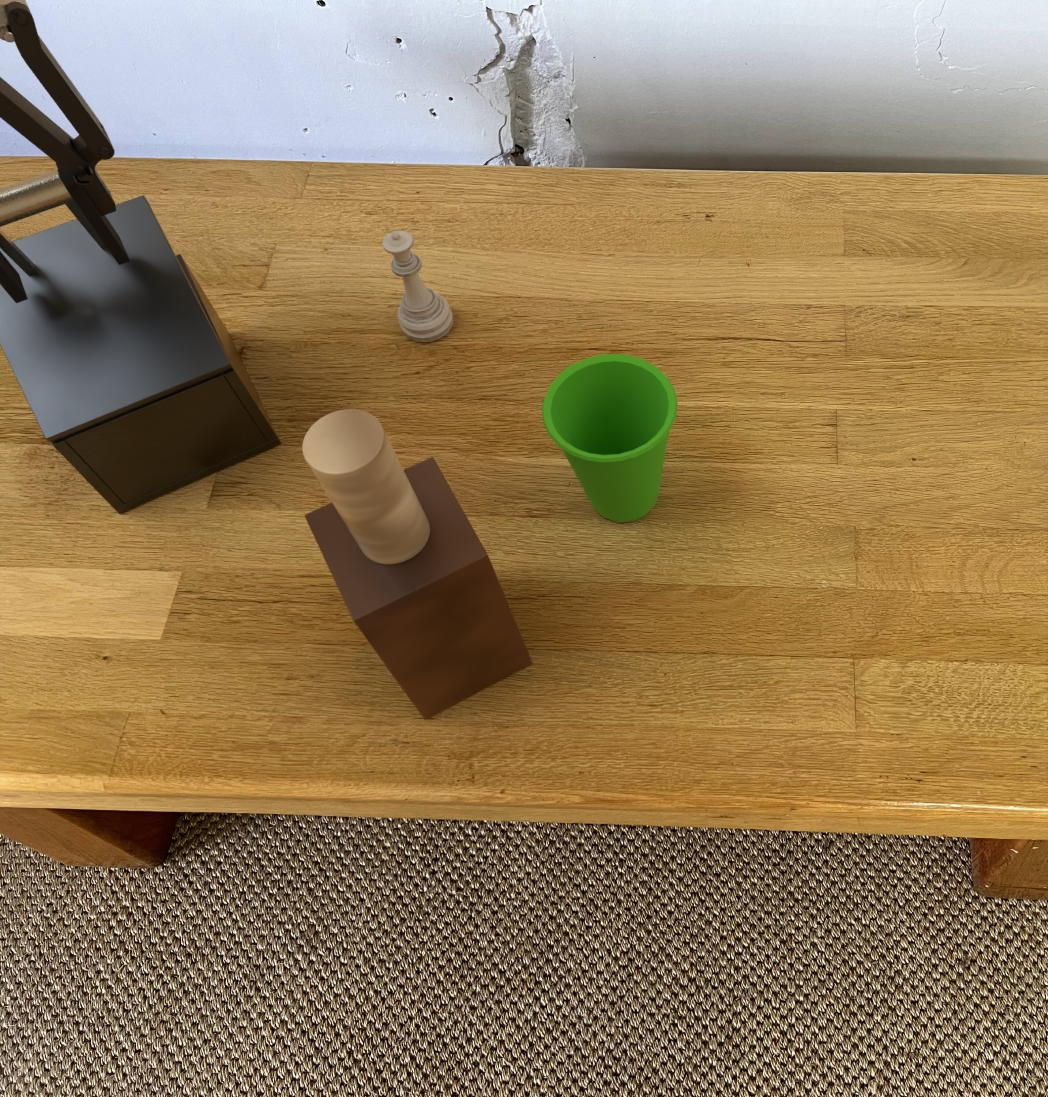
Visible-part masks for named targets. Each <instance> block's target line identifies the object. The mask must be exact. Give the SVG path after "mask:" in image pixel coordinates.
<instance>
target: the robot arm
mask: <svg viewBox="0 0 1048 1097" xmlns="http://www.w3.org/2000/svg"><path fill="white" fill-rule="evenodd" d="M0 40H2V41H5V42H6V43H14V44H15V46H16V49H17V51H18V52H19V54H20V56H21V58H22V59H23V61H24V63H25V64H26V65H27V67H28V68H29V69H30V71H31V72H32V74H33V75H34V76H35V77H36V80H38V82H39V83H40V85H41V86H42V87H43V89H45V91H46V92H47V94H48V95H49V96H50V98H51V99H52V100H53V102H54V103H55V104H56V106H57V107H58V109H59V110H60V111H61V113H62V114H63V115H64V117H65V118H66V119H67V120H68V122H69V123H70V124H71V126H72V127H73V129H74V130H75V132H76V133H77V134H78V135H77V136H75V137H72V136H71V135H70V134H69V133H68V132H66V131H65V129H63V128H62V127H61V126H59V125H58V124H57V123H56V122H55V121H54V120H52V118H50V117H49V116H47V115H46V114H45V113H44V112H43V111H42V110H40V109H39V107H37V106H36V105H35V104H33V103H32V102H31V101H29V99H27V98H26V97H25V96H24V95H22V94H21V93H20V92H19V91H18V90H16V89H15V88H14V87H13V86H12V85H11V84H10V83H8V82H7V81H6V80H5V79H4V78H3V77H2V76H0V119H1V120H3V122H5V123H6V124H7V125H9V126H10V127H11V128H12V129H13V130H15V131H16V132H17V133H19V134H20V135H21V136H22V137H24V138H25V139H26V140H27V141H28V142H30V143H31V144H32V145H34V146H35V147H36V148H37V149H39V150H40V151H41V152H42V153H43V154H44V155H45V156H47V157H49V159H50V160H52V161H54V163H55V166H56V168H57V170H58V171H59V173H60V175H61V178H62V180H63V183H64V185H65V188H66V189H67V191H68V192H69V193H70V195H71V196H72V198H73V199H74V201H75V202H76V204H77V205H78V206H79V208H80V209H81V211H82V212H83V214H84V215H85V217H86V218H87V219H88V221H89V222H90V224H91V225H92V227H93V228H94V230H95V231H96V232H97V234H98V235H99V237H100V238H101V240H102V241H103V243H104V244H105V245H106V247H107V248H108V250H109V251H110V253H111V254H112V256H113V257H114V258H115V260H116V261H117V263H118V264H119V265H121V264H124V263H126V262H129V261H130V259H129V257H128V255H127V252H126V250H125V248H124V245H123V243H122V241H121V239H120V237H119V235H118V234H117V232H116V231H115V229H114V228H113V226H112V225H111V223H110V222H109V220H108V219H107V217H106V216H105V215H107V214H110V213H112V212H115V211H116V205H117V204H116V201H115V200H114V198H113V195H112V193H111V191H110V190H109V188H108V187H107V185H106V184H105V182H104V180H103V179H102V177H101V176H100V174H99V173H98V170H96V166H97V165H98V163H100V162H101V161H102V160H103V161H107V160H111V159H112V158H113V157H114V155H115V153H116V152H115V148H114V146H113V144H112V140H111V139H110V137H109V135H108V133H107V131H106V129H105V127H104V125H103V123H102V122H101V120H100V119H99V118H98V117H97V115H96V114H95V112H94V111H93V109H92V108H91V106H90V105H89V104H88V102H87V101H86V99H85V98H84V97H83V95H82V94H81V93H80V91H79V89H78V88H77V87H76V85H75V84H74V82H73V81H72V80H71V78H70V77H69V76H68V75H67V73H66V71H65V70H64V69H63V68H62V66H61V65H60V63H59V62H58V60H57V58H55V56H54V55H53V53H52V52H51V51H50V49H49V48H48V46H47V45H46V44H45V42H44V41H43V39H42V38H41V36H40V35H39V33H38V30H37V26H36V22H35V19H34V16H33V15H32V12H31V9H30V7H29V5H28V3H27V0H0ZM0 285H1V286H2V287H3V288H4V290H5V291H6V292H7V293H8V294H9V295H10V297H11V298H12V299H13V300H14V301H15V303H19V302H22V301H24V300H27V299H28V298H27V295H26V292H25V289H24V287H23V284H22V281H21V278H20V275H19V273H18V272H17V271H16V270H15V268H14V267H13V266H12V265H11V264H10V262H9V261H8V260H7V259H6V257H5V256H4V255H3V254H2V252H1V251H0Z"/></svg>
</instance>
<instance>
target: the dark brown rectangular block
mask: <svg viewBox="0 0 1048 1097" xmlns="http://www.w3.org/2000/svg"><path fill="white" fill-rule="evenodd" d="M403 470H404V472H405V474H406V476H407V478H408V480H409V482H410V484H411V486H412V488H413V490H414V492H415V494H416V496H417V499H418V501H419V503H420V505H421V507H422V509H423V511H424V513H425V515H426V517H427V519H428V521H429V525H430V534H429V538H428V540H427V543H426V544H425V546H424V547H423V549H422V550H421V551H420V552H419V553H418V554H417V555H415V556H414V557H413V558H411V559H409V560H407V561H405V562H402V563H398V564H380V563H377V562H374V561H372V560H370V559H369V558H368V557H366V556H365V554H364V553H363V552H362V550H361V549H360V547H359V545H358V544H357V542H356V541H355V539H354V537H353V536H352V534H351V533H350V531H349V529H348V528H347V526H346V524H345V523H344V521H343V520H342V518H341V516H340V515H339V513H338V512H337V510H336V508H335V507H334V505H333V504H332V502H330V503H328V504H326V505H323V506H321V507H319V508H317V509H315V510H312V511H310V512H308V513H306V514H304V518H305V520H306V523H307V525H308V527H309V529H310V531H311V533H312V535H313V537H314V540H315V542H316V544H317V546H318V548H319V550H320V552H321V555H322V557H323V559H324V561H325V563H326V566H327V567H328V570H329V572H330V574H331V577H332V578H333V580H334V582H335V584H336V587H337V589H338V592H339V593H340V595H341V597H342V599H343V602H344V604H345V607H346V609H347V610H348V612H349V614H350V617H351V619H352V621H353V622H354V624H355V625H356V626H357V628H358V629H359V631H360V632H361V634H362V635H363V636H364V638H365V639H366V640H367V642H368V643H369V645H370V646H371V648H372V649H373V650H374V652H375V653H376V654H377V656H378V658H379V659H380V660H381V661H382V663H383V664H384V666H385V667H386V669H387V670H388V671H389V672H390V674H391V675H392V677H393V678H394V679H395V681H396V683H397V684H398V685H399V686H400V688H401V689H402V690H403V692H404V693H405V695H406V696H407V697H408V699H409V700H410V702H411V703H412V704H413V706H414V707H415V708H416V710H417V712H418V713H419V714H420V716H421V717H422V718H423V720H424V721H426V720H428V719H430V718H432V717H434V716H436V715H438V714H440V713H442V712H444V711H445V710H447V709H450V708H451V707H454V706H455V705H457V704H459V703H460V702H462V701H464V700H467V699H469V698H471V697H472V696H474V695H476V694H478V693H480V692H482V691H483V690H485V689H487V688H489V687H491V686H493V685H495V684H496V683H498V682H501V681H503V680H505V679H506V678H508V677H510V676H511V675H514V674H516V673H518V672H520V671H521V670H523V669H526V668H527V667H529V666H532V664H533V660H532V658H531V655H530V653H529V650H528V648H527V645H526V643H525V641H524V638H523V636H522V634H521V631H520V629H519V626H518V624H517V621H516V619H515V616H514V614H513V612H512V609H511V607H510V604H509V602H508V600H507V598H506V595H505V592H504V590H503V587H502V584H501V583H500V581H499V578H498V576H497V573H496V571H495V568H494V566H493V564H492V560H491V558H490V556H489V553H488V552H487V550H486V548H485V547H484V545H483V543H482V541H481V539H480V538H479V536H478V534H477V532H476V531H475V529H474V527H473V525H472V524H471V522H470V520H469V518H468V516H467V514H466V513H465V511H464V509H463V507H462V506H461V504H460V502H459V500H458V499H457V497H456V494H454V491H453V490H452V488H451V486H450V484H449V483H448V481H447V479H446V477H445V476H444V473H443V472H442V470H441V468H440V467H439V465H438V463H437V461H436V460H435V458H434V457H433V456H431V457H429V458H426V459H425V460H422V461H420V462H418V463H416V464H413V465H411V466H408V467H407V468H403Z"/></svg>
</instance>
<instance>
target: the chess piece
mask: <svg viewBox="0 0 1048 1097" xmlns="http://www.w3.org/2000/svg"><path fill="white" fill-rule="evenodd" d="M414 242H415V241H414V237H413V236H412V234H411V233H410V232H408V231H405V230H393V231H392V232H389V233H388V234H387V235H385V236H384V237H383V239H382V242H381V243H382V248H383V250H384V251H385V252H387V253H388V254H390V255H392V256H393V258H392V259H391V261H390V269H391V271H392V273H393V274H394V275H395V276H397V277H399V278H401V279H402V281H403V285H404V286H403V287H404V294H403V295H402V297H401V303H400V305H399V307H398V310H397V320H398V322H399V326H400V329H401V331H402V333H403V334H404V335H405V337H406V338H408V339H409V340H411V341H414V342H417V343H428V342H429V343H430V342H433V341H438V340H439V339H441V338H443V337H445V335H447V334H448V333H449V332H450V330H451V329H452V328H453V325H454V315H453V312H452V309H451V307H450V305H449V302H448V300H447V299H446V298H445V297H443V296H442V295H440V294H439V293H437V292H435V291H434V290H433V289H432V288H430V287H428V286H426V285H425V284H424V282H423V280H422V279H421V276H420V274H419V272H420V271H421V269H422V265H423V263H422V260H421V257H420V256H419V255H418V254H416V253H413V252H412V251H411V249H412V248H413V247H414Z"/></svg>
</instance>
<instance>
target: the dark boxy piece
mask: <svg viewBox="0 0 1048 1097" xmlns="http://www.w3.org/2000/svg"><path fill="white" fill-rule="evenodd" d="M175 255H176V257H177V259H178V261H179V263H180V265H181V267H182V269H183V271H184V273H185V275H186V277H187V279H188V280H189V282H190V284H191V286H192V288H193V290H194V292H195V294H196V296H197V298H198V300H199V302H200V304H201V306H202V308H203V310H204V312H205V314H206V316H207V318H208V320H209V321H210V323H211V325H212V327H213V329H214V331H215V333H216V335H217V337H218V339H219V341H220V343H221V345H222V347H223V349H224V351H225V353H226V355H227V357H228V359H229V361H230V362H231V364H232V366H233V369H231V370H228V371H226V372H223V373H221V374H218V375H216V376H213V377H211V378H209V379H206V380H204V381H201V382H199V383H196V384H194V385H191V386H189V387H187V388H184V389H182V390H179V391H177V392H174V393H172V394H169V395H167V396H165V397H162V398H160V399H157V400H155V401H152V402H150V403H147V404H145V405H143V406H140V407H138V408H135V409H133V410H130V411H128V412H125V413H123V414H121V415H118V416H116V417H113V418H111V419H108V420H106V421H103V422H101V423H99V424H96V425H94V426H91V427H89V428H86V429H84V430H81V431H79V432H77V433H74V434H72V435H69V436H67V437H64V438H62V439H59V440H57V441H55V442H52V443H51V445H52V447H54V448H55V450H56V451H58V453H59V454H60V455H61V456H62V457H63V458H64V460H66V461H67V462H68V463H69V464H70V465H71V466H72V467H73V469H75V470H76V471H77V472H78V474H80V475H81V477H82V478H84V480H85V481H86V482H87V483H88V484H89V485H90V486H91V487H92V488H93V489H94V490H95V491H96V492H97V493H98V494H99V495H100V496H101V497H102V498H103V499H104V500H105V501H106V503H108V504H109V506H111V507H112V509H113V510H115V512H116V513H117V514H118V515H121V514H124V513H126V512H128V511H131V510H133V509H135V508H137V507H140V506H142V505H145V504H148V503H149V502H152V501H154V500H156V499H159V498H161V497H162V496H163V497H164V496H165V495H168V494H170V493H172V492H174V491H178V490H179V489H181V488H184V487H186V486H188V485H191V484H192V483H195V482H197V481H200V480H203V479H204V478H206V477H209V476H211V475H213V474H216V473H218V472H221V471H223V470H225V469H228V468H230V467H232V466H234V465H237V464H239V463H241V462H244V461H246V460H248V459H250V458H253V457H255V456H258V455H260V454H262V453H265V452H267V451H269V450H271V449H274V448H276V447H278V446H280V445H282V441H281V438H280V437H279V435H278V433H277V431H276V429H275V427H274V424H273V422H272V420H271V417H270V416H269V414H268V412H267V410H266V407H265V405H264V403H263V401H262V399H261V397H260V395H259V393H258V391H257V388H256V386H255V385H254V382H253V380H252V378H251V376H250V374H249V372H248V370H247V367H246V365H245V363H244V361H243V359H242V357H241V355H240V353H239V351H238V349H237V346H236V344H235V342H234V340H233V337H232V336H231V334H230V332H229V330H228V328H227V327H226V325H225V323H224V322H223V320H222V318H221V317H220V315H219V313H218V312H217V311H216V309H215V308H214V306H213V304H212V303H211V301H210V299H209V298H208V297H207V295H206V292H205V291H204V290H203V287H201V285H200V283H199V281H198V280H197V278H196V276H195V275H194V274H193V272H192V270H191V268H190V267H189V265H188V264H187V262H186V261H185V259H184V257H183V256H182V254H180V253H179V254H175Z"/></svg>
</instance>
